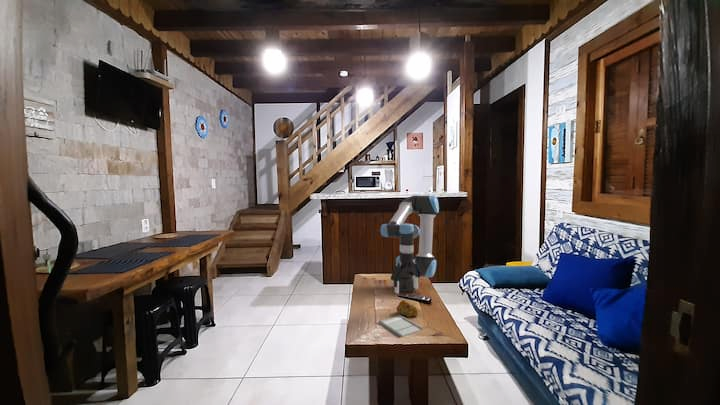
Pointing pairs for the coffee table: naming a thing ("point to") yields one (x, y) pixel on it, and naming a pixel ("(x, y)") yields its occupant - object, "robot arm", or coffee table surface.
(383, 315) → the coffee table surface
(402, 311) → the rock
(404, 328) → the mat
